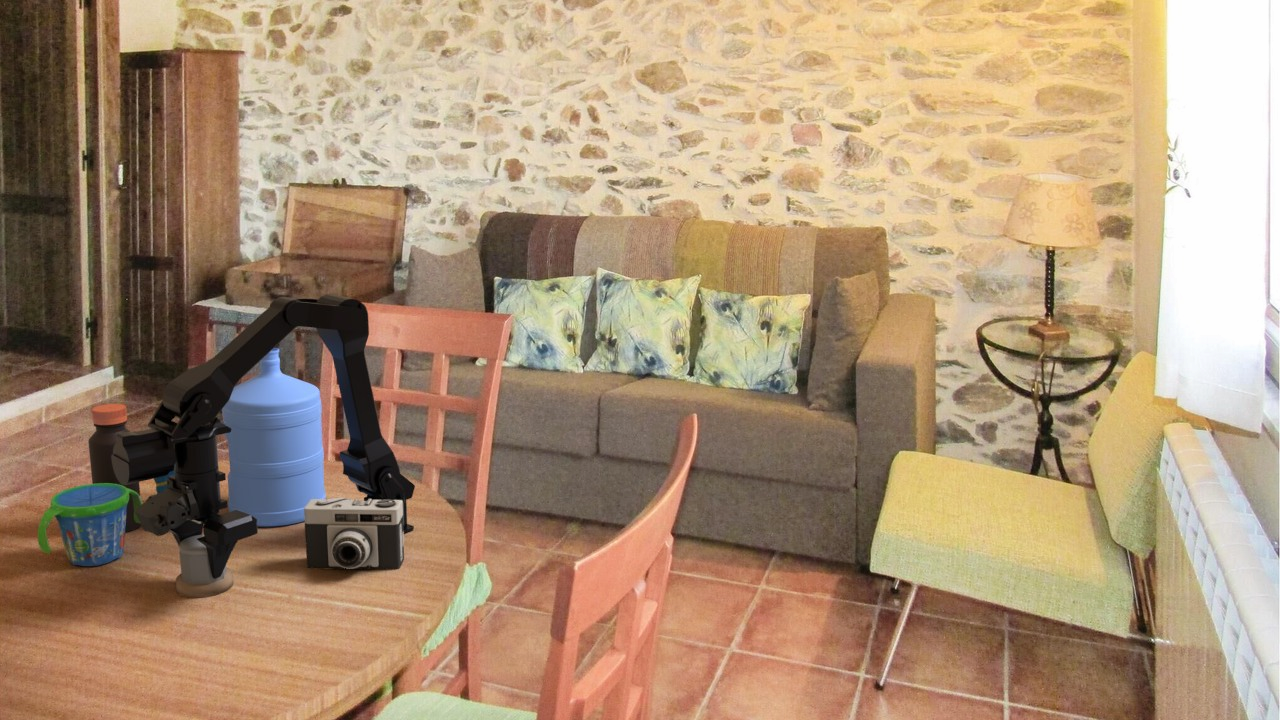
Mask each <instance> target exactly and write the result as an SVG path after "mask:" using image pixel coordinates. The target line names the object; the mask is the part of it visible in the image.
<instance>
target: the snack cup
mask: <svg viewBox="0 0 1280 720" xmlns="http://www.w3.org/2000/svg"><path fill="white" fill-rule="evenodd" d="M129 493H130V494H132V497H133V505H134V520H135V522H137V523H140V522H139V520H138V518H137V516H136V514H135V509H136V508H138V507H139V506H140V505H142V504H143V503H144V502H143V500H142V497H141V495H140V496H139V494H138V493H137V492H135V491H133V490H131V489H128V488H126V487H124V486H122V485H118V484H111V483H98V484H92V483H88V484H81V485H76V486H73V487H69V488H66V489H63V490H62V491H59V492H57V493H56V494H54V495H52V497H51V499H50V506H49V508H47V509H46V511H44V512H43V514H42V517H41V518H40V521H39V523H38V529H37V544H38V546H39V548H40V550H41V551H42V552H43V553H45V554H51V553H52V550H51V546H50V544H49V540H48V536H47V529H48V526H49V525H50V523H51V522H52V521H53V519H54V518H55V520H56V521H57V525H58V528H59V529H58V530H59V532H60V534H61V538H62V539H61V540H62V543H63V546H64V550H65V553H66V556H67V558H68V560H69V561H70V563H71V564H72V565H73V566H81V567H94V566H95V567H96V566H101V565H106V564H109V563H111V562H113V561H115V560H117V559H120V558H121V557H122V555H123V553H124V551H125V550H124V548H125V544H126V543H125V542H126V532H125V526H126V507H127V503H128V501H129Z"/></svg>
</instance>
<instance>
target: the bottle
mask: <svg viewBox="0 0 1280 720" xmlns="http://www.w3.org/2000/svg"><path fill="white" fill-rule="evenodd" d="M91 415H92V424H93V427H95V431H94V433H93V434H92V435H91V436H90V437H89V439H88V443H87V444H88V452H89V462H90V471H91V484H98V483H111V484H118V485H122V484H121V483H120V482H119V481H118V479H117V477H116V475H115V473H114V470H113V465H112V459H111V455H112V454H113V448H114V445H115V444H116V443H117V434H119V433H124V432H131V431H130V430H129V429H128V428H127V427H126V424H127V423H128V415H127V406H126V405H125V404H123V403H122V404H120V403H107V404H100V405H97V406H94V407H93V408H92V409H91ZM122 486H124V487H126V488H128V489H131V490H133V491H135V492H137V493H138V494H139V496H140V497H141V491H140V489H141V488H140V482H136V483H132V484H127V485H122ZM140 527H142V526H141V524H140V523H137V522H135V520H134V505H133V497H132V494H130V493H129V501H128V503H127V507H126V526H125V533H128V532H131V531H135V530H137V529H138V528H140Z"/></svg>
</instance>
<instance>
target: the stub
mask: <svg viewBox="0 0 1280 720" xmlns="http://www.w3.org/2000/svg"><path fill="white" fill-rule="evenodd" d="M226 569H227V572H226V574H225V577H224V579H221V580H219V581H216V582H214V583H211V584H203V585H190V584H188V583H186V582H183V581H182V577H181V573H179V574H178V575H177V576H176V578H175V589H176V593H177V594H178V595H180V596H182V597H184V598H190V599H191V598H193V599H197V598H198V599H199V598H208V597H213V596H217V595H220V594H223V593H225V592H227V591H228V590H230V589H231V588H232V587H233V586H234V572H233V569H231V568H229V567H227V566H226Z"/></svg>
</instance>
